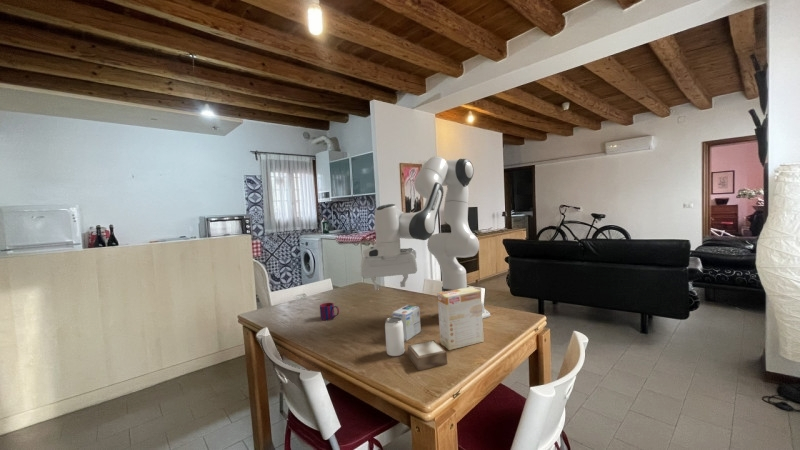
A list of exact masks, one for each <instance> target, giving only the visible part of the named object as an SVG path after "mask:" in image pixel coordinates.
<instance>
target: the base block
mask: <svg viewBox="0 0 800 450" xmlns="http://www.w3.org/2000/svg"><path fill="white" fill-rule="evenodd" d="M447 353H448V352H447V351H446V350H445V349H444V348H443V347H442V345H440V344H439V343H438V342H437V341H436V340H428V341H423V342H418V343H414V344H409V345H407V357H408V359H409V360H410V361H411V363H412V364H413V365H414V367H415V368H416V369H417V371H424V370H427V369H432V368H435V367H440V366H444V365H448V354H447Z"/></svg>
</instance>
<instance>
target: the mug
mask: <svg viewBox="0 0 800 450" xmlns="http://www.w3.org/2000/svg"><path fill="white" fill-rule="evenodd" d="M335 308H336V309H337V313H336V314H335ZM319 313H320V314H319V315H320V320H321V321H325V322H326V320H327V321H331V320H334V319H335V317H337V316H339V314H340V308H339V307H338V305H334V303H333V302H324V303H322V304H319Z"/></svg>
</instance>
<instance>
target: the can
mask: <svg viewBox="0 0 800 450" xmlns="http://www.w3.org/2000/svg"><path fill="white" fill-rule="evenodd" d="M384 330H385V331H384V332H385V334H384V335H385V345H386V346H385V348H386V354H387V355H388V356H390V357H399V356H400V357H401V356H403V354H405V352H406V351H405V341H404V332H403V323H402V321H401V318H399V317H393V316H392V317H388V318H386V319H385V324H384Z"/></svg>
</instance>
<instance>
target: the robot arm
mask: <svg viewBox="0 0 800 450" xmlns="http://www.w3.org/2000/svg"><path fill="white" fill-rule="evenodd" d="M474 172H475V171H474V166H473V163H472V162H471V161H470V160H469V159H467V158H459V159H449V160H446V159H445V158H443V157H442V156H438V155H436V156H432V157H430V158H428V160H427V161H426V162H425V163H424V164H423V165H422V167H421V169H420V170H419V171H418V173H417V174H416V177H415V179H414V182H413V183H414V184H413V185H414V189H415V191H416V192H417V194H418V195H420V197H423V198H424V199H426V200H425V203H424V206H423V208H422V209H421V210H419V211H416V212H405V211H402V210H400V209H399V208H398V207H397V205H396V204H393V203H390V204H389V203H388V204H383V205H380V206H378V207H376V209H375V212H374V231H375V232H374V233H375V237H376V238H375V245H373V246H370V247H369V248H365V249H363V256H364V257H362V259H361V263H360V276H361V277H362V278H363V279H370V280H371V282H372V283H373V285H374V290H375V291H378V290H379V291H380V283H377V282H376V281H377V278H383V277H393V276H402V277H403V278H402V281H399V284H400V285H399V286H400V288H405V287H406V282H407V280H408V278H409V275H411V274H412V275H413V274H416V273H417V272H418V264H417V260H416V259H417V251H416V250H415V249H413V248H412V247H409V248H401V239H407V240H410V239H411V240H420V241H426V240H427V245H426V246H427V249H428V252H429V253H430V254H431V255H433V256H434V258H435V260H436V261H437V262H438V263H437V264H438V265H439V268H440V273H441V281H442V287H441V292H445V291H451V290H456V289H462V288H467V287H470V285H468V283H467V282H468V280H467V270H466V268H465V267H464V266H463V265H462V264H460V263H459V261H458V259H457V258H471V257H474V256H476V255H477V254H478V252H479V250H480V241H479V239H478V237H477V236H476V234H474V233H473V232H472V230H471V229H470V226H469V220H468V218H469V217H468V216H469V206H470V205H469V204H470V203H469V202H470V201H469V200H470V193H469V192H470V191H469V186H468V185H469V184H470V182H471V181H472V179H473V176H474ZM443 186H444V187H445V186H446V187H447V189H446V193H445V197H444V192H445V191H444V187H443ZM443 197H444V206H443V214H442V215H443V216H442V218H443V221H444V222H445V223H447V224H448V225H449V226H450V231H451V232H438V233H434V232H435V229H436V221H437V217H438V215H439V211H440V207H441V205H442V201H443ZM481 305H482V320H483V319H485V318H489V317H491V313H490V312H489V310H487V309H486V308H485V306H484V302H483V301H482V300H481Z"/></svg>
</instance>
